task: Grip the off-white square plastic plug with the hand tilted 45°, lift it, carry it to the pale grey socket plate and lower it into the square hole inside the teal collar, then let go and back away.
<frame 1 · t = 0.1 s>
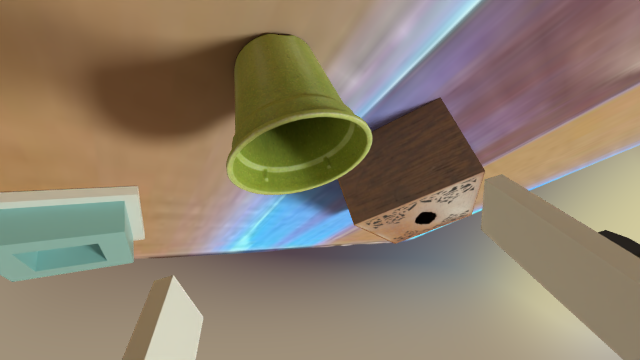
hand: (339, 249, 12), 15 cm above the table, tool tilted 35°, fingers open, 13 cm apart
plant pot: (273, 65, 22), on the table
tissue box cover: (398, 160, 46), on the table
socket: (68, 219, 32), on the table
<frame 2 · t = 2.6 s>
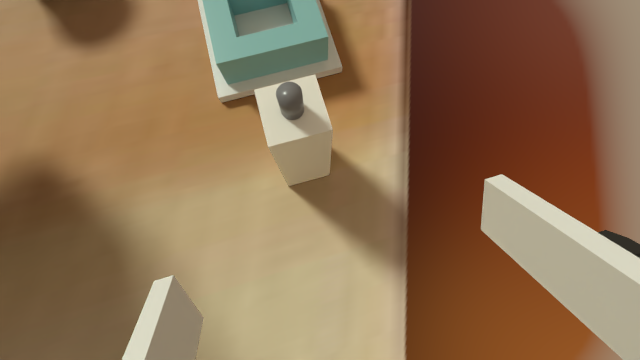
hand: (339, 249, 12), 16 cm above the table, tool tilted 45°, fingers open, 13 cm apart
plug: (303, 161, 30), on the table
socket: (268, 37, 34), on the table
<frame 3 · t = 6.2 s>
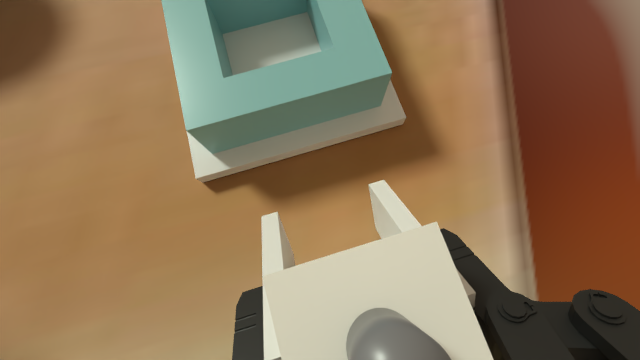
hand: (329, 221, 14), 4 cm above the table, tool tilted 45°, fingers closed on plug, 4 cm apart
plug: (348, 291, 17), on the table, touching gripper
socket: (278, 67, 21), on the table
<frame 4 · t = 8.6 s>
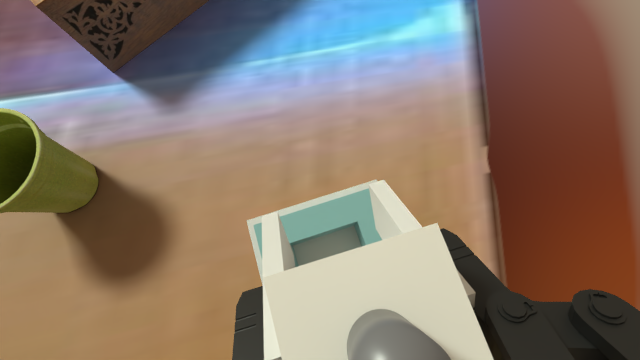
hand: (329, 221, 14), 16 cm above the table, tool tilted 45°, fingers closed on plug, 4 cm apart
plug: (348, 291, 17), point 12 cm above the table, touching gripper
plant pot: (74, 186, 32), on the table
socket: (333, 267, 29), on the table
when the fingers open (7 cm above the table, at t = 11.1 s): plug drops 2 cm, resting on socket.
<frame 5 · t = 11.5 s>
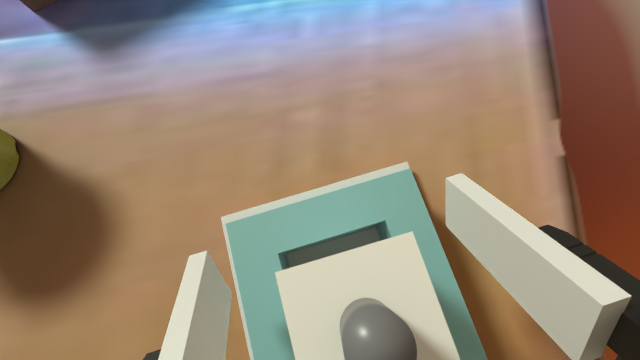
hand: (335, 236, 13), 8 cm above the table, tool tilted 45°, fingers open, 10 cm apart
plug: (344, 288, 19), point 1 cm above the table, touching socket
socket: (344, 286, 20), on the table
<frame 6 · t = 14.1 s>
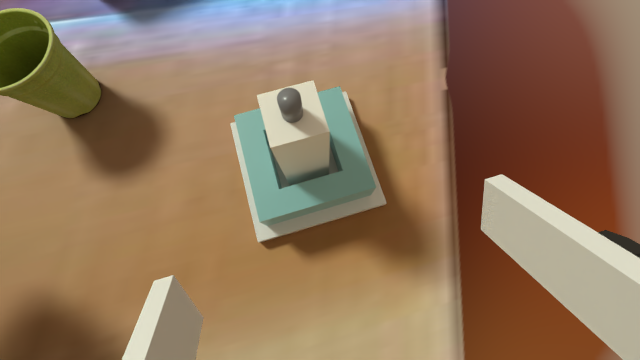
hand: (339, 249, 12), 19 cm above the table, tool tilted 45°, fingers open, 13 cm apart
plug: (304, 161, 32), point 1 cm above the table, touching socket
plant pot: (79, 97, 36), on the table
socket: (305, 164, 33), on the table
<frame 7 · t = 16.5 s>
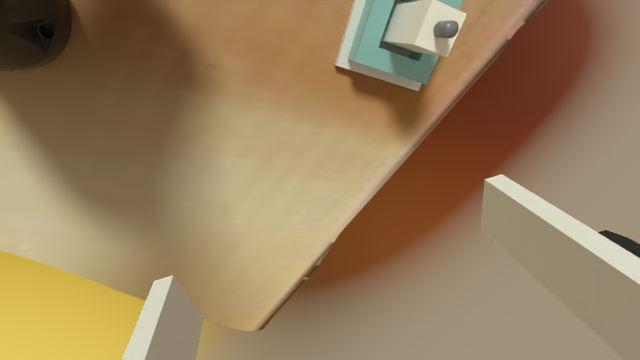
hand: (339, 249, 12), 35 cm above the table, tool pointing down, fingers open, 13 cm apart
plug: (397, 28, 40), point 1 cm above the table, touching socket
socket: (394, 28, 41), on the table
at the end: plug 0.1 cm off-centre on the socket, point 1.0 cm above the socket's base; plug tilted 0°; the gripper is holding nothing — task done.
